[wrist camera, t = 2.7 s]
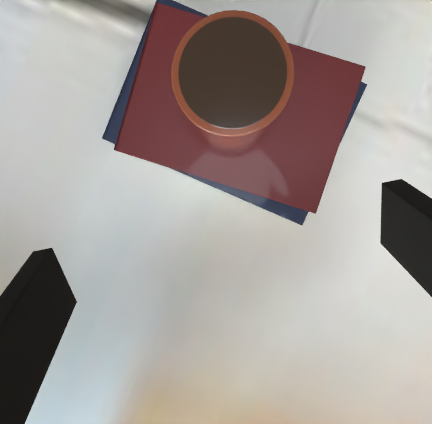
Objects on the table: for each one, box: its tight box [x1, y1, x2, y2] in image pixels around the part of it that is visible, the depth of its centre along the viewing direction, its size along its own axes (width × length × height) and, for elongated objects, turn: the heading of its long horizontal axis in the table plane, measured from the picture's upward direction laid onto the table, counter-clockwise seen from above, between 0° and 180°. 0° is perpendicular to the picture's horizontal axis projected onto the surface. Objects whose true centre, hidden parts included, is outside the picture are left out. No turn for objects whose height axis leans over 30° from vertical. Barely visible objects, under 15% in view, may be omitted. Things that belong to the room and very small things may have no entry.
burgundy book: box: [114, 2, 365, 213], centre depth 34 cm, size 20×14×2 cm
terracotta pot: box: [171, 10, 294, 148], centre depth 28 cm, size 8×8×10 cm
